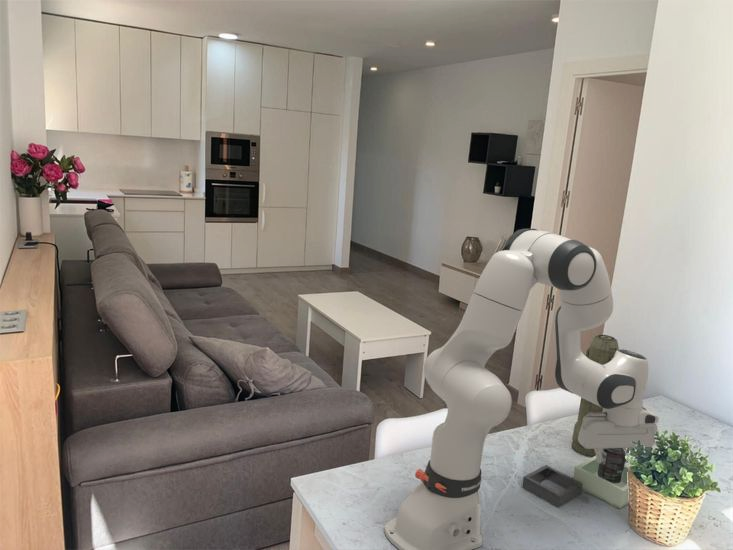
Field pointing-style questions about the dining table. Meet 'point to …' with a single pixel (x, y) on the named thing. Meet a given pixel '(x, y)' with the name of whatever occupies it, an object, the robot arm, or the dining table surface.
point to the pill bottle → (612, 464)
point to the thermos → (602, 354)
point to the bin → (602, 483)
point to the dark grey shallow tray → (548, 494)
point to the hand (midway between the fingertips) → (612, 461)
